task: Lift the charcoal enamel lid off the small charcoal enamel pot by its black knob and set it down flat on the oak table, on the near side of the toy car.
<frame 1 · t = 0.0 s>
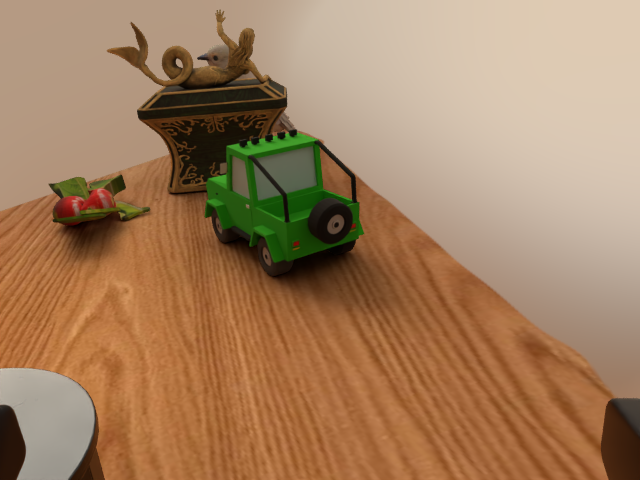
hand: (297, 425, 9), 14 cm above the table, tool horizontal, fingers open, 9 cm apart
decorative box: (214, 183, 74), on the table
toy car: (286, 250, 53), on the table
bird: (254, 148, 89), on the table
decorative ornament: (101, 223, 63), on the table
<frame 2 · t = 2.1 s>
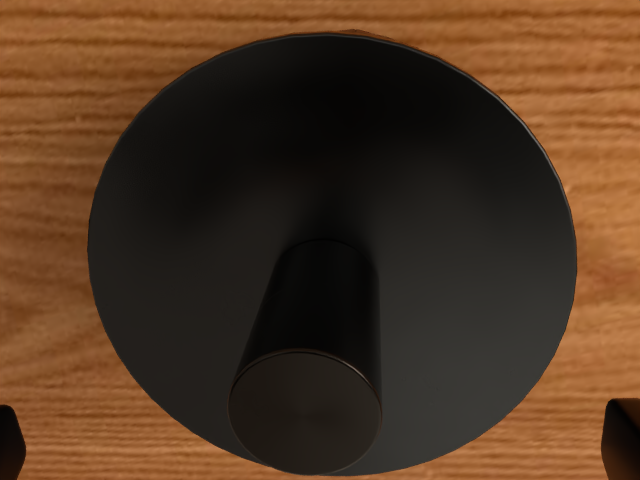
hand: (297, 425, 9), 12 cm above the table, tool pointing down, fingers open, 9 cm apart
lid: (326, 279, 13), point 7 cm above the table, touching pot
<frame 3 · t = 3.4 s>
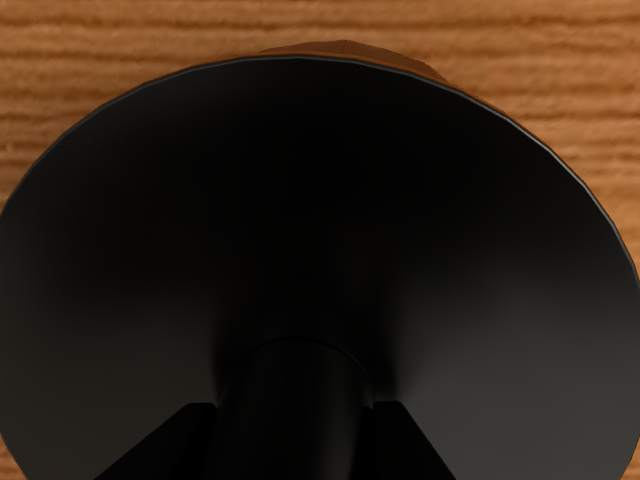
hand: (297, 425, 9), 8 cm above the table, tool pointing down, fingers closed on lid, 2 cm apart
pot: (330, 228, 16), on the table
lid: (303, 383, 10), point 7 cm above the table, touching gripper, pot
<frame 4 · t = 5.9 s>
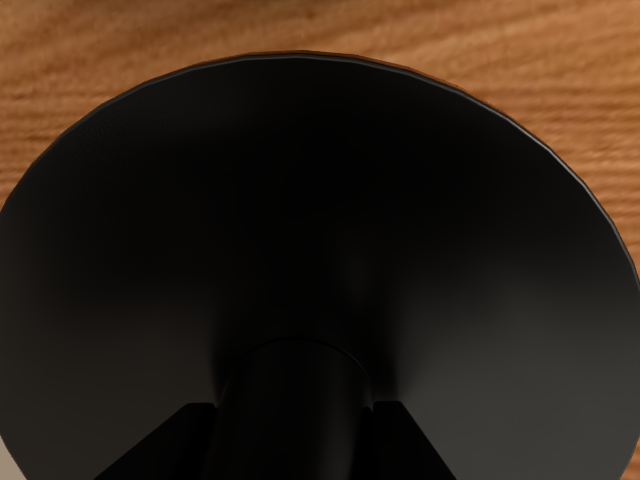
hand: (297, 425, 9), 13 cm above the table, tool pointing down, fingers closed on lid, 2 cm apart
lid: (302, 383, 10), point 12 cm above the table, touching gripper
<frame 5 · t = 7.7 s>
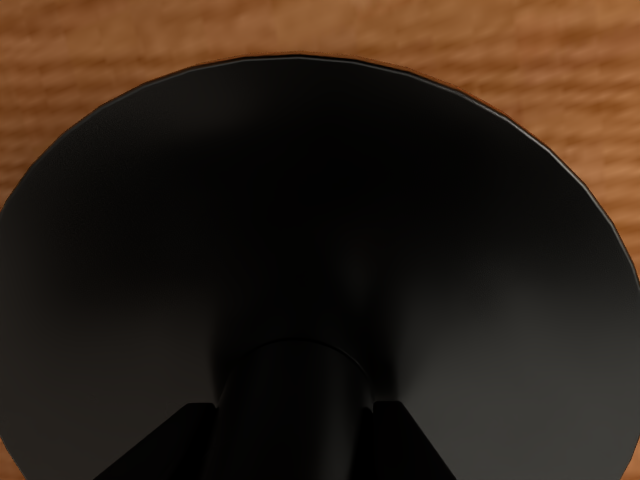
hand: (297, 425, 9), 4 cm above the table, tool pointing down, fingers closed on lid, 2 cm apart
lid: (302, 384, 10), point 3 cm above the table, touching gripper
when the fingers open (2 cm above the table, at t = 8.6 s): lid stays where it is, point 1 cm above the table.
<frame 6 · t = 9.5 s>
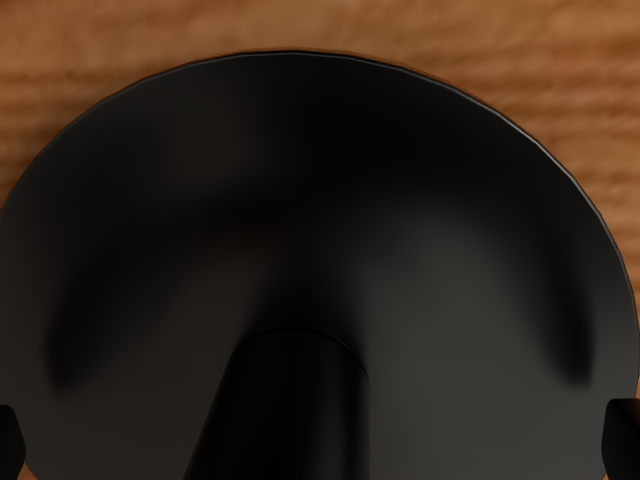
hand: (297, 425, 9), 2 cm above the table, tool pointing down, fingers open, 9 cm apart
lid: (299, 374, 10), point 1 cm above the table
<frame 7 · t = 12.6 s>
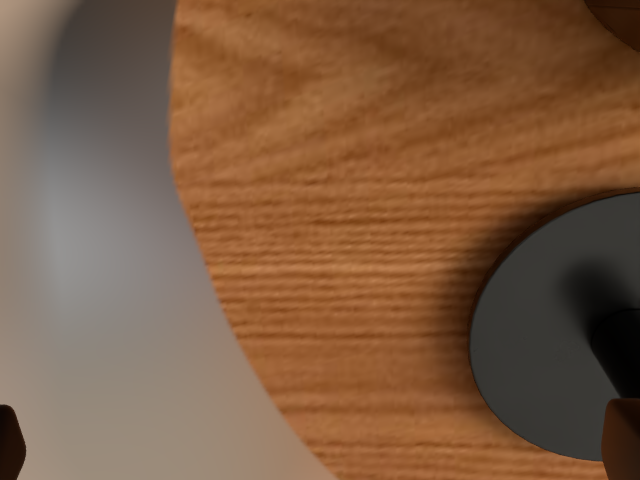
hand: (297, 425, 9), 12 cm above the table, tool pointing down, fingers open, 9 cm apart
lid: (622, 332, 21), point 1 cm above the table
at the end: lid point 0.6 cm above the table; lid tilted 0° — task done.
